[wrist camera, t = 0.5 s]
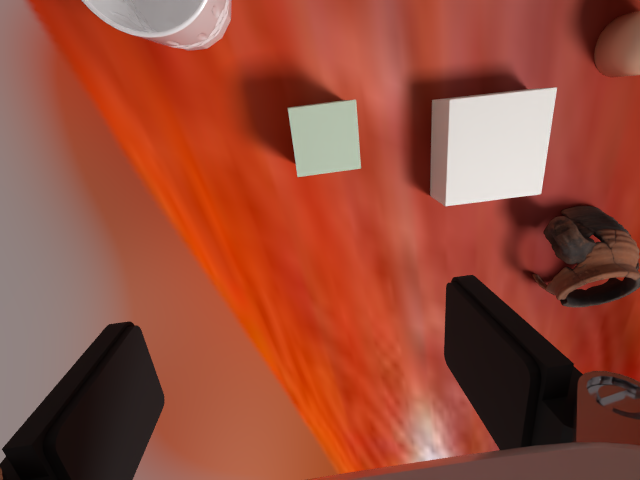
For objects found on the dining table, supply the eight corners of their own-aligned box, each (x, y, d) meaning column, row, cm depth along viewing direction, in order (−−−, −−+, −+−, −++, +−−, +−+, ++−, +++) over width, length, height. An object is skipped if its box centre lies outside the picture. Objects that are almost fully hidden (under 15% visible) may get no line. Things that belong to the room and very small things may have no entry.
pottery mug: (623, 221, 38) (671, 286, 33) (537, 260, 44) (567, 320, 39) (579, 172, 32) (630, 241, 27) (487, 224, 38) (515, 289, 33)
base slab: (430, 99, 31) (449, 99, 28) (525, 89, 32) (556, 87, 28) (428, 195, 35) (445, 206, 31) (514, 184, 35) (541, 194, 31)
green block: (287, 107, 30) (287, 108, 25) (343, 100, 30) (356, 99, 25) (295, 164, 32) (297, 177, 26) (348, 156, 32) (360, 168, 27)
